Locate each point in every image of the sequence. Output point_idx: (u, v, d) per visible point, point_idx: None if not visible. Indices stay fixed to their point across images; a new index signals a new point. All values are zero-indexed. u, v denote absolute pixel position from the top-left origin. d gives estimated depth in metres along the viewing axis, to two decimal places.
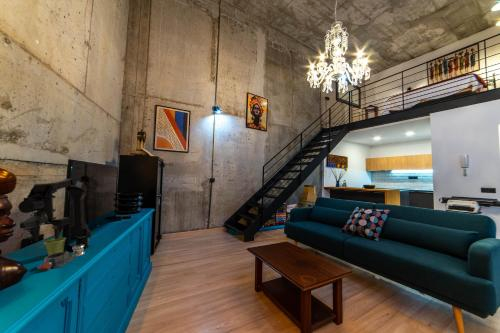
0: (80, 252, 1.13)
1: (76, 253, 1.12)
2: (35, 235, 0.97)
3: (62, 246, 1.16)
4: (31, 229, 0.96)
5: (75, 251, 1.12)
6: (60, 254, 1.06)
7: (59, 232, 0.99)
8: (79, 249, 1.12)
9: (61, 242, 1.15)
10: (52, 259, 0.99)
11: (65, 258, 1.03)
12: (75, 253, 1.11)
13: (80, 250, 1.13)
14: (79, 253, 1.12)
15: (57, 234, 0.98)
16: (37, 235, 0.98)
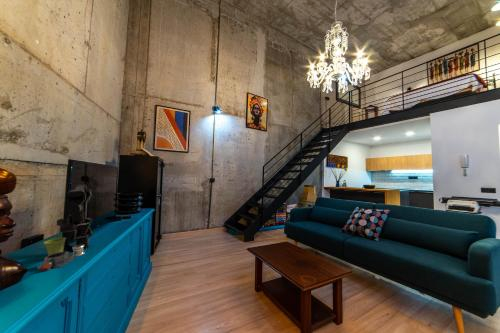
0: (80, 252, 1.13)
1: (76, 253, 1.12)
2: (82, 232, 1.18)
3: (62, 246, 1.16)
4: (80, 226, 1.19)
5: (75, 251, 1.12)
6: (60, 254, 1.06)
7: (72, 237, 1.08)
8: (79, 249, 1.12)
9: (61, 242, 1.15)
10: (52, 259, 0.99)
11: (65, 258, 1.03)
12: (75, 253, 1.11)
13: (80, 250, 1.13)
14: (79, 253, 1.12)
15: (70, 238, 1.08)
16: (84, 232, 1.18)
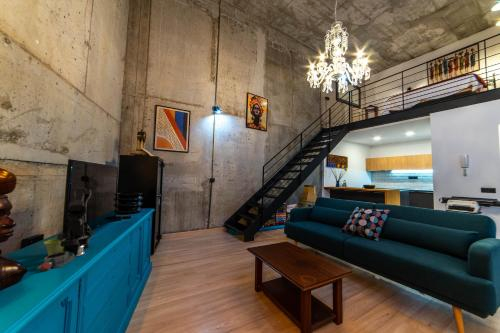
0: (80, 252, 1.13)
1: None
2: None
3: None
4: (78, 240, 1.16)
5: None
6: (60, 254, 1.06)
7: (75, 250, 1.10)
8: (79, 249, 1.12)
9: None
10: (52, 259, 0.99)
11: (65, 258, 1.03)
12: None
13: (80, 250, 1.13)
14: (79, 253, 1.12)
15: (73, 251, 1.10)
16: None
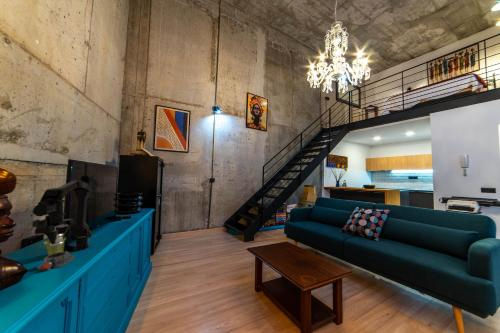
0: (58, 241, 1.02)
1: None
2: None
3: (62, 246, 1.16)
4: (57, 229, 1.06)
5: None
6: (60, 254, 1.06)
7: (52, 238, 1.00)
8: (57, 238, 1.02)
9: None
10: (52, 259, 0.99)
11: (65, 258, 1.03)
12: None
13: (58, 239, 1.02)
14: (57, 242, 1.02)
15: (50, 239, 1.00)
16: None
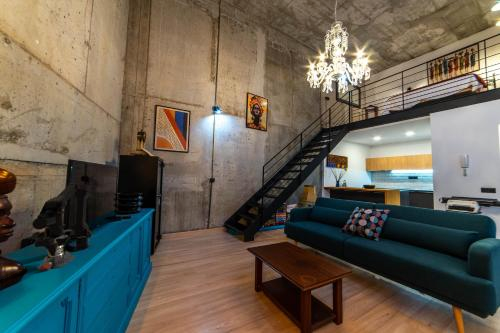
0: (58, 253, 1.02)
1: None
2: None
3: None
4: (57, 240, 1.06)
5: None
6: None
7: (52, 250, 1.00)
8: (57, 249, 1.02)
9: None
10: (52, 259, 0.99)
11: (65, 258, 1.03)
12: None
13: (58, 251, 1.02)
14: (57, 254, 1.02)
15: (50, 252, 1.00)
16: None
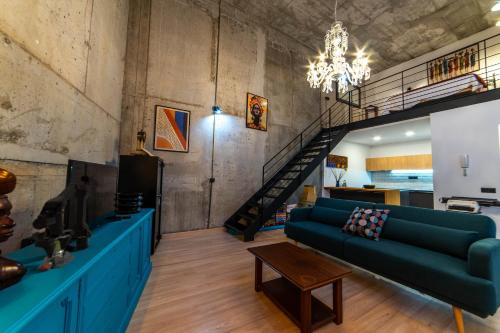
0: None
1: None
2: (61, 246, 1.07)
3: None
4: (59, 239, 1.07)
5: (53, 257, 1.01)
6: None
7: (49, 251, 0.98)
8: (57, 254, 1.02)
9: None
10: (52, 259, 0.99)
11: (65, 258, 1.03)
12: None
13: None
14: None
15: (48, 253, 0.98)
16: (63, 246, 1.07)
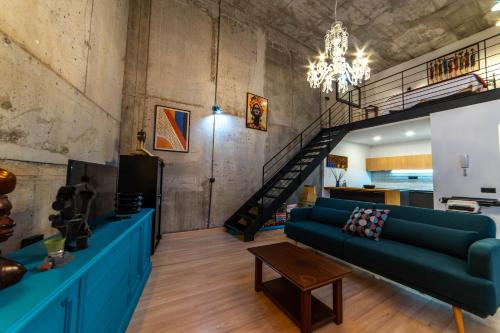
0: None
1: None
2: (75, 228, 1.17)
3: (62, 246, 1.16)
4: (72, 222, 1.17)
5: (53, 257, 1.01)
6: None
7: (63, 232, 1.07)
8: (57, 254, 1.02)
9: (61, 242, 1.15)
10: (52, 259, 0.99)
11: (65, 258, 1.03)
12: None
13: (58, 255, 1.02)
14: None
15: (62, 234, 1.07)
16: (76, 228, 1.17)
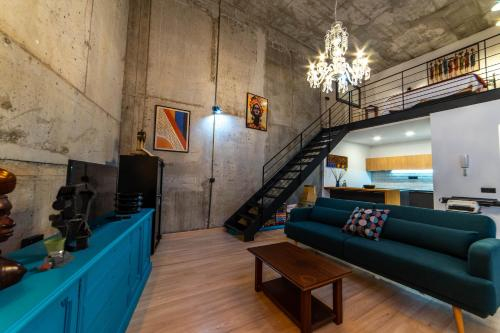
0: None
1: None
2: (75, 228, 1.17)
3: (62, 246, 1.16)
4: (73, 222, 1.17)
5: (53, 257, 1.01)
6: None
7: (64, 232, 1.07)
8: (58, 254, 1.02)
9: (61, 242, 1.15)
10: (52, 259, 0.99)
11: (65, 258, 1.03)
12: None
13: None
14: None
15: (62, 233, 1.07)
16: (76, 228, 1.17)
